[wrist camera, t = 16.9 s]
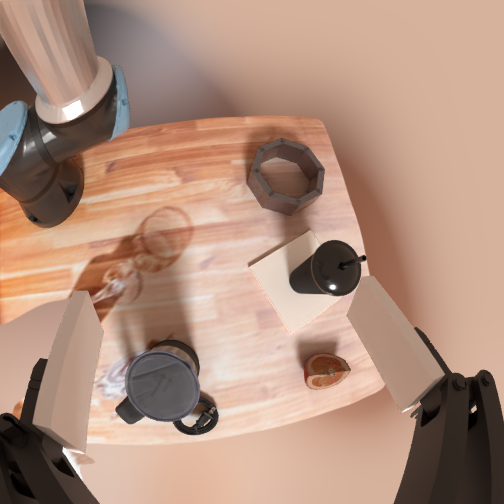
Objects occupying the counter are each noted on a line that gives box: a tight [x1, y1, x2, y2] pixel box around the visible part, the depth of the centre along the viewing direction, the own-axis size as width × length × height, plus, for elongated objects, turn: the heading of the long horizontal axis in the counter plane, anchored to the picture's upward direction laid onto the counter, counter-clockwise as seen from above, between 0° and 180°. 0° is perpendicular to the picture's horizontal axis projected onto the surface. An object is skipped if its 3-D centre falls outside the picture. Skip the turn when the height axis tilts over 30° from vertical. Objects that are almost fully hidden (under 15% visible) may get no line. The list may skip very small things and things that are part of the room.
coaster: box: [249, 230, 343, 335], centre depth 48 cm, size 14×14×1 cm
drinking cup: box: [289, 240, 366, 297], centre depth 38 cm, size 8×8×20 cm
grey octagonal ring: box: [247, 138, 325, 216], centre depth 50 cm, size 13×13×5 cm
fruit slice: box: [304, 353, 351, 390], centre depth 43 cm, size 8×7×5 cm
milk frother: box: [115, 340, 218, 435], centre depth 34 cm, size 14×16×15 cm
